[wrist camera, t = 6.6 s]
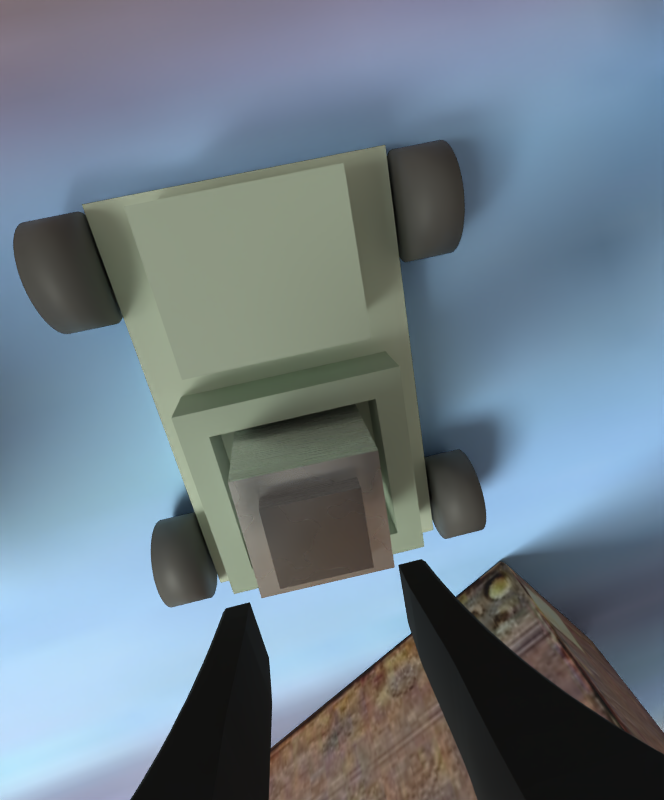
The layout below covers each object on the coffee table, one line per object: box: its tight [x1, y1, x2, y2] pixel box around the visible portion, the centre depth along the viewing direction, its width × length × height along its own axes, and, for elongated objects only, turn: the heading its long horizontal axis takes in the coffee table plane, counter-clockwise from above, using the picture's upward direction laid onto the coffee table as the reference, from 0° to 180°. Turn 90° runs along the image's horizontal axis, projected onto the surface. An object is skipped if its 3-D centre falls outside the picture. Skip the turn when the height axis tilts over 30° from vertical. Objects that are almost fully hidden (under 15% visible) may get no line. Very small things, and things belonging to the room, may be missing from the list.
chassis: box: [13, 140, 486, 607], centre depth 17 cm, size 13×16×4 cm
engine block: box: [228, 404, 394, 598], centre depth 16 cm, size 4×4×6 cm
